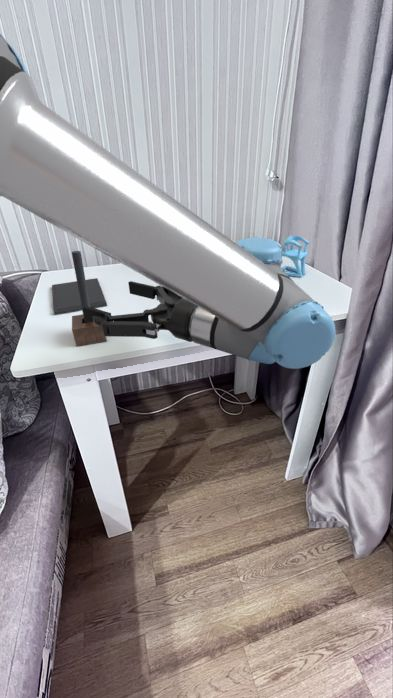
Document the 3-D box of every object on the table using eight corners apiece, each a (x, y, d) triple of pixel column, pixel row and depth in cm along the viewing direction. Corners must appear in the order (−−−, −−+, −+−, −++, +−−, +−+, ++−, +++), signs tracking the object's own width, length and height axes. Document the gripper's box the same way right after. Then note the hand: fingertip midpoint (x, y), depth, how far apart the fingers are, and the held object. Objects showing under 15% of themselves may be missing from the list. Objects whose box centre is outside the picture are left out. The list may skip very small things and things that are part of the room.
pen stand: (76, 346, 74) (71, 329, 71) (76, 332, 79) (71, 315, 76) (106, 341, 75) (103, 324, 73) (104, 327, 81) (101, 311, 78)
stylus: (85, 337, 76) (69, 252, 67) (89, 334, 78) (74, 250, 68) (92, 338, 76) (77, 253, 66) (96, 335, 78) (82, 251, 68)
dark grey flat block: (52, 287, 102) (51, 284, 101) (97, 280, 106) (97, 277, 105) (54, 315, 86) (53, 311, 86) (107, 305, 91) (106, 302, 90)
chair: (298, 279, 104) (304, 242, 97) (275, 274, 108) (279, 237, 102) (308, 272, 109) (315, 236, 102) (285, 267, 113) (290, 232, 107)
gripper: (160, 377, 51) (67, 343, 60) (226, 312, 69) (147, 293, 78) (156, 337, 47) (56, 307, 56) (227, 279, 65) (143, 263, 74)
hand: (109, 299), depth 67 cm, fingers open, 13 cm apart
